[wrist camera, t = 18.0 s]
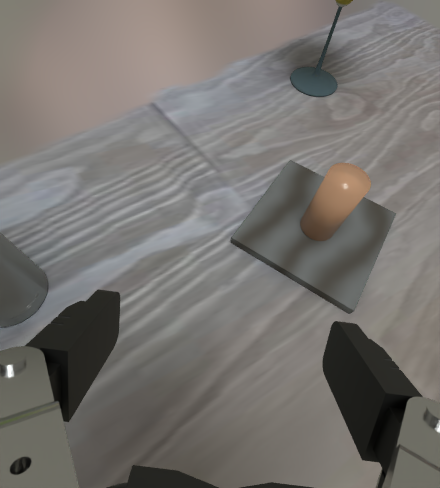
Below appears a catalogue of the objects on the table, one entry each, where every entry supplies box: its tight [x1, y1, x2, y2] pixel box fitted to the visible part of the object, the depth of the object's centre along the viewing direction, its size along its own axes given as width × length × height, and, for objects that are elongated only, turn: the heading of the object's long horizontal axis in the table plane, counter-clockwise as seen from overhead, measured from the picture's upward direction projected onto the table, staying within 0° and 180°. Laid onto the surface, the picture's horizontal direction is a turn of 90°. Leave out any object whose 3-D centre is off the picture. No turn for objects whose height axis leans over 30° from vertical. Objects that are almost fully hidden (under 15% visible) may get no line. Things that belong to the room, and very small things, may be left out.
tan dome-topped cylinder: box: [300, 163, 371, 241], centre depth 42 cm, size 6×6×11 cm
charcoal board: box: [231, 160, 396, 314], centre depth 48 cm, size 20×20×2 cm
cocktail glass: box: [291, 0, 353, 97], centre depth 58 cm, size 18×18×25 cm
